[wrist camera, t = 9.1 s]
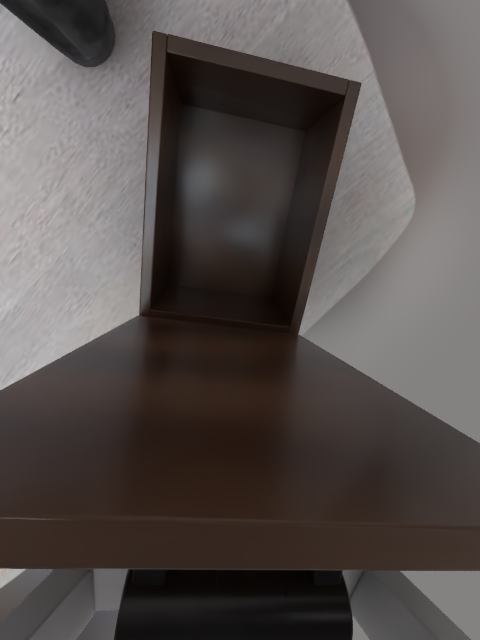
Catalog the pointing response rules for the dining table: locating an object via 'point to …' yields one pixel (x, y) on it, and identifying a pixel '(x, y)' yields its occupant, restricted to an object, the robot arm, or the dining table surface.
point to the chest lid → (228, 480)
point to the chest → (237, 184)
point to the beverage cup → (69, 26)
